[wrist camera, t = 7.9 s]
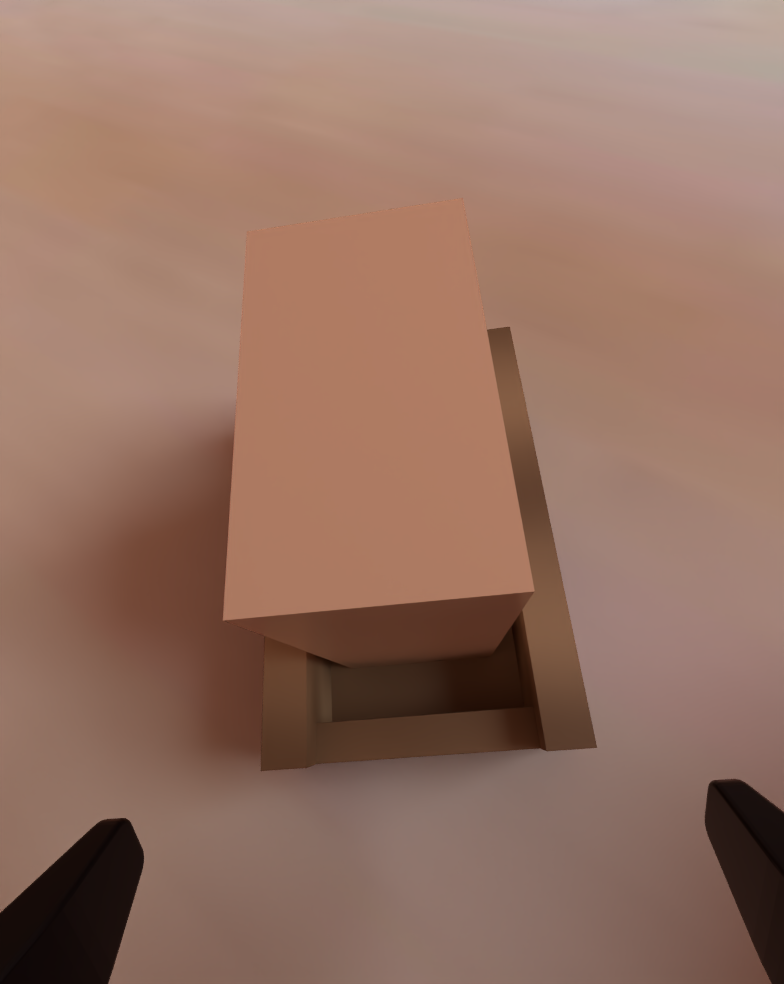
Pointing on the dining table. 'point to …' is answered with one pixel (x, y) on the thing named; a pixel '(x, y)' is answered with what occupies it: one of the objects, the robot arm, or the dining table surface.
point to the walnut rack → (445, 684)
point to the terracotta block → (371, 446)
